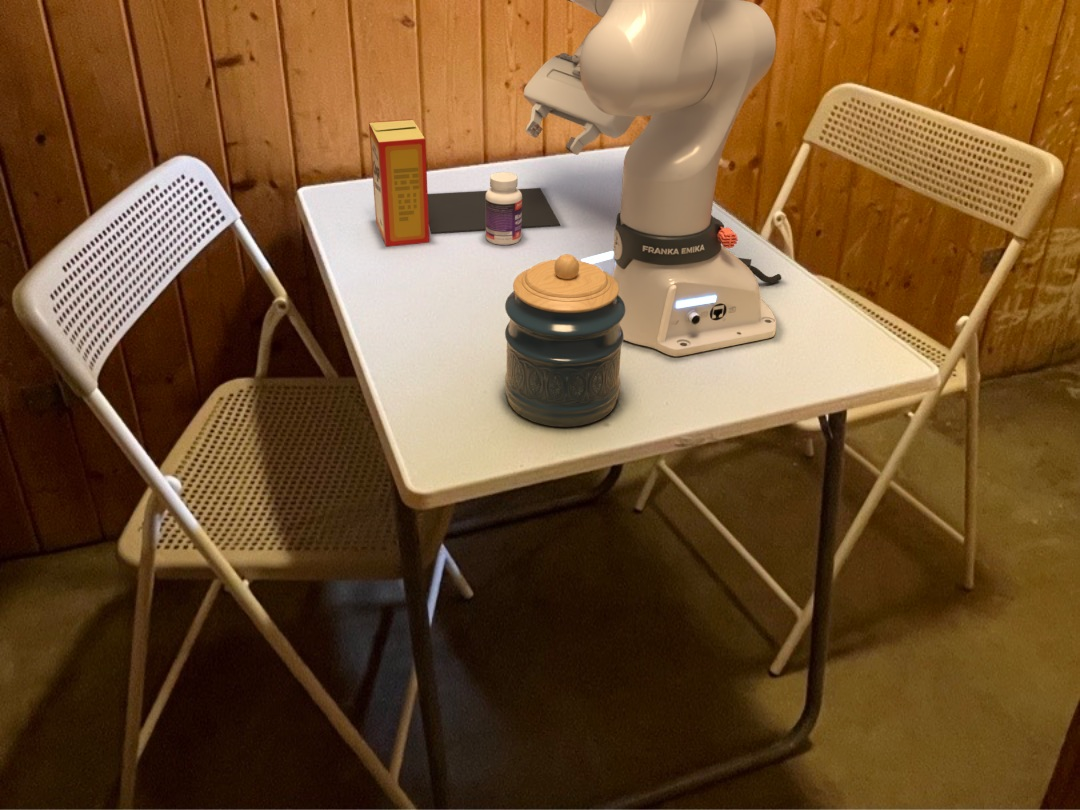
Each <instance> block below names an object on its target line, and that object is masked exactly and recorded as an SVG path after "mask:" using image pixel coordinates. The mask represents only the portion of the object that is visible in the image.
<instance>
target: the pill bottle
mask: <svg viewBox="0 0 1080 810" xmlns="http://www.w3.org/2000/svg"><path fill="white" fill-rule="evenodd" d="M518 181H519V178H518V176H517V174H515V173H513V172H506V171H500V172H495V173H492V174H491V175H490V177H489V186H490V188H488V189H487V190H486V191H487V192H486V231H485V239H486V240H487V241H488V242H489V243H491V244H494V245H499V246H508V245H513V244H516V243H518V242H520V241H521V240H522V230H523V228H522V194H521V192H520V191H519V190H518V189H519V188H518V184H519V182H518Z"/></svg>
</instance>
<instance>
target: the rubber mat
mask: <svg viewBox="0 0 1080 810" xmlns="http://www.w3.org/2000/svg"><path fill="white" fill-rule="evenodd" d="M517 189H518V190H519V191H520V192H521V194H522V229H529V228H530V229H533V228H549V227H550V228H551V227H560V226H561V222H560V221H559V219H558V218H557V216H556V214H555V212H554V210H553V208H552V207H551V205H550V203H549V201H548V199H547V197H546V196H545V194H544V192H543V190H542V189H541V187H533V188H532V187H531V188H530V187H529V188H517ZM487 191H488V190H479V191H478V190H477V191H476V190H475V191H460V192H459V191H458V192H457V191H456V192H442V193H439V192H438V193H428V215H429V231H430V233H431V235H435V234H450V233H451V234H452V233H453V234H454V233H467V232H469V233H470V232H482V231H483V232H486V192H487Z"/></svg>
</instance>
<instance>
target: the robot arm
mask: <svg viewBox="0 0 1080 810" xmlns="http://www.w3.org/2000/svg"><path fill="white" fill-rule="evenodd" d="M567 1H568V2H571V3H574V4H576V5H577V6H580V7H581V8H583V9H585V10H587V11H589V12H590V13H592V14H595V15H596V16H598V17H599V18H601V19H600V20H599V21H598V22H597V23H596V24H594V26H593V27H592V28H591V29H590V30H589V31H588V32H587V34H586V36H585V37H584V39H583V40H582V42H581V43H580V45H579V46H578V48H577V49H576V51H575V52H574V54H573V55H570V54H569V53H566V52H561V53H560V54H556V55H554V56H552V57H551V58H549V59H548V60H547V61H546V62H545V63H543V64H542V65H541V66H540V68H539V69H538V70H537V71H536V72H535V73H534V75H533V76H532V77H531V79H529V81H528V82H527V84H526V85H525V87H524V90H523V97H524V98H525V99H526V101H527V102H528V103H529V104H530V105H531V106H532V108H531V112H530V121H529V122H528V123H527V125H526V127H525V129H524V131H525V133H526V134H527V135H528V136H531V137H533V138H539V136H540V134H541V133H542V132H543V130H544V129H543V128H542V126H541V125H542V121H543V119H546V118H547V116H548V115H549V114H551V115H554V116H556V117H558V118H559V119H560V118H561V119H563V120H566V121H567V122H568V121H569V122H571V123H574V124H576V125H579V126H581V127H583V131H582V132H580V133H579V134H578V135H577V136H575V137H573V136H570V138H569V140H568V142H566V144H565V149H566V150H568V152H569V153H571V154H573V155H576V156H578V155H579V154H580V153H581V151H582V150H583V149H584V147H586V146H588V145H589V144H591V143H592V142H594V141H596V140H597V139H598V137H599V136H600V134H602V135H604V136H607V137H609V138H611V139H618V138H620V137H622V136H624V135H625V134H626V132H627V131H628V130H629V128H630V127H631V125H632V124H633V122H634V121H635V119H636V117H649V116H651V117H650V118H649V120H648V123H647V124H646V125H645V127H644V129H643V130H642V131H641V133H639V135H638V136H637V137H636V138H635V139H634V140H633V141H632V142H631V144H630V145H629V146H628V149H627V151H626V153H625V156H624V158H623V166H622V168H623V169H622V181H621V182H622V183H621V196H620V211H619V212H618V213H617V215H616V219H615V229H614V232H613V248H612V249H613V250H611V251H607V252H603V253H600V254H596V255H591V256H588V257H585V258H581V260H580V261H584V262H587V263H590V264H593V265H595V264H596V263H597V264H598V263H601V262H604V261H608V260H612V259H614V265H613V266H614V267H613V271H612V275H611V276H612V277H613V278H614V279H615V280H616V281H617V283H618V285H619V293H618V295H619V296H620V297H621V299H622V300H623V302H624V304H625V308H626V311H625V315H624V317H623V319H622V320H621V321H620V326H621V328H622V330H623V335H624V338H623V341H626V342H629V343H632V344H634V345H639V346H644V347H647V348H652V349H655V350H657V351H659V352H661V353H663V354H665V355H668V356H671V357H683V356H687V355H692V354H698V353H702V352H708V351H713V350H718V349H722V348H726V347H727V348H729V347H732V346H737V345H742V344H747V343H752V342H757V341H762V340H766V339H771V338H774V337H775V334H776V332H777V320H776V317H775V315H774V313H773V311H772V309H771V308H770V307H769V305H768V304H767V303H766V302H765V301H764V300H763V299H762V297H761V296H762V295H761V289H760V285H759V282H758V280H757V279H759V280H760V281H762V282H763V283H766V284H775V283H777V282H779V281H781V280H782V275H781V274H780V273H777V274H774V275H773V276H768V275H766V274H765V273H764V272H763V271H761V270H760V269H759V268H757V267H756V266H754V265H752V258H744V257H737V256H736V255H734V254H733V253H732V252H731V251H730V250H729V249H731V248H734V247H735V245H737V243H738V240H739V239H738V235H737V234H736V233H735V232H734V231H733V229H732V228H730V227H725V225H724V223H723V222H722V221H721V220H720V219H718V218H717V217H715V216H713V214H712V213H713V205H714V196H715V192H716V191H715V189H716V183H717V179H718V171H719V167H720V162H721V159H722V155H723V152H724V149H725V146H726V143H727V141H728V138H729V137H730V133H731V131H732V129H733V126H734V124H735V122H736V120H737V118H738V116H739V113H740V111H741V109H742V107H743V106H744V103H745V102H746V101H747V99H748V97H749V95H750V94H751V93H752V91H753V89H755V87H756V86H757V84H759V83H760V81H761V80H762V79H763V78H764V77H765V76H766V75H767V74H768V72H769V71H770V69H771V67H772V65H773V62H774V59H775V55H776V50H777V40H776V39H777V37H776V31H775V27H774V25H773V23H772V20H771V18H770V17H769V15H768V14H767V12H766V11H765V10H764V9H763V8H762V7H761V6H760V5H758V4H756V3H755V2H752V1H747V0H567Z"/></svg>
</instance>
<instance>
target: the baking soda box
mask: <svg viewBox="0 0 1080 810" xmlns="http://www.w3.org/2000/svg"><path fill="white" fill-rule="evenodd" d="M368 129H369V143H370V144H369V145H370V155H371V156H370V157H371V172H372V173H371V174H372V185H373V198H374V199H373V201H374V213H375V214H374V215H375V223H376V225H377V228H378V230H379V233H380V236H381V238H382V240H383V243H384V245H385V247H387V248H388V247H397V246H406V245H417V244H426V243H430V242H431V241H430V240H431V239H430V226H429V215H428V194H429V192H428V170H427V168H428V167H427V146H426V145H427V144H426V142H427V141H426V138H425V136H424V135H423V133H422V131H421V130H420V128H419V126H418V124H416V121H414V118H411V119H408V118H407V119H395V120H381V121H380V120H379V121H369V122H368Z"/></svg>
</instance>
